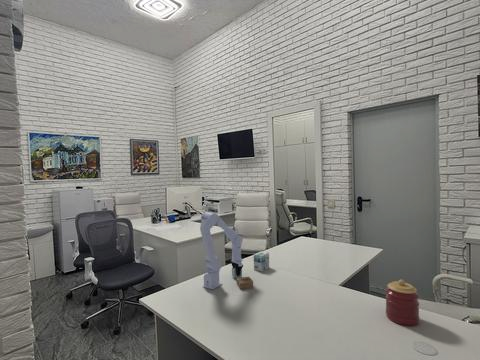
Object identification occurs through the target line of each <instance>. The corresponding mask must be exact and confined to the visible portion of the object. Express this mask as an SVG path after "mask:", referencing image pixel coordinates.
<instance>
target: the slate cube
mask: <svg viewBox="0 0 480 360" xmlns="http://www.w3.org/2000/svg"><path fill="white" fill-rule="evenodd" d="M242 272H243V268H242V269H241V273H240V276H237V275H236V269H235V268H233V267H231V277H232V278H234V279H237V278H242V277H243V273H242Z"/></svg>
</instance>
